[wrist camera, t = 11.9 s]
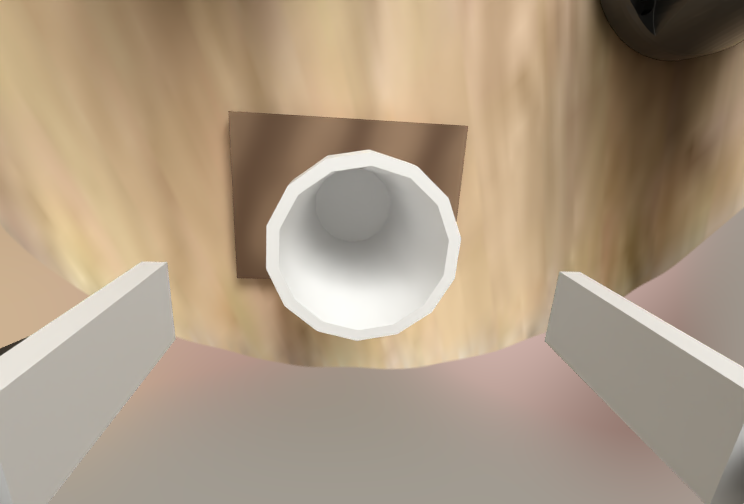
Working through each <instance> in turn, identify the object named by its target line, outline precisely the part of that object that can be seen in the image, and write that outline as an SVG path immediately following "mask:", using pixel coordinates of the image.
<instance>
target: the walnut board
mask: <svg viewBox="0 0 744 504" xmlns="http://www.w3.org/2000/svg"><path fill="white" fill-rule="evenodd" d="M229 128H230V148H231V167H232V186H233V206H234V225H235V245H236V264H237V278H263V279H271V278H270V276H269V274H268V272H267V270H266V226H267V224H268V222H269V220H270V218H271V216H272V214H273V213H274V211H275V209H276V207H277V205H278V203H279V201H280V199H281V198H282V196H283V194H284V192H285V190H286V188H287V186H288V185H289V184H290V183H291V181H292V180H293V179H295V178H296V177H297V176H299V175H300V174H302V173H303V172H305V171H306V170H308V169H309V168H310V167H312V166H313V165H315V164H316V163H318V162H319V161H320V160H322V159H323V158H325V157H326V156H328V155H335V154H342V153H348V152H355V151H362V150H372V151H375V152H378V153H381V154H384V155H387V156H390V157H393V158H396V159H399V160H402V161H405V162H408V163H411V164H413V165H415V166H418V167H419V168H420V169H421V170H422V171H423V172H424V174H425V175H426V176H427V177H428V178H429V179H430V180H431V181H432V182H433V183H434V184H435V185H436V186H437V187H438V188H439V189H440V190H441V191H442V192H443V193H444V194H445V195H446V196H447V197H448V198H449V201H450V204H451V207H452V211H453V214H454V217H455V220H456V221H457V213H458V204H459V196H460V188H461V180H462V172H463V164H464V156H465V148H466V139H467V131H468V126H460V125H444V124H428V123H411V122H395V121H379V120H363V119H347V118H330V117H314V116H298V115H282V114H265V113H249V112H233V111H229Z"/></svg>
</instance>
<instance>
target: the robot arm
mask: <svg viewBox="0 0 744 504" xmlns="http://www.w3.org/2000/svg"><path fill="white" fill-rule="evenodd" d="M600 1H601V5H602V8H603V10H604V13H605V15H606V17H607V19H608V21H609V23H610V25H611V27H612V28H613V30H614V31H615V33H616V34H617V35H618V36H619V37H620V38H621V39H622V41H623V42H624V43H626V44H627V45H628V46H629V47H631V48H632V49H633V50H635V51H637V52H638V53H640V54H642V55H645V56H647V57H650V58H654V59H658V60H667V61H675V60H684V59H689V58H694V57H699V56H704V55H708V54H712V53H716V52H719V51H722V50H724V49H727V48H729V47H732V46H734V45H736V44H738V43H740V42H742V41H744V0H600ZM174 341H175V330H174V321H173V311H172V302H171V293H170V284H169V274H168V265H167V262H140V263H139V264H137V265H136V266H134V267H133V268H131V269H130V270H128V271H127V272H125V273H124V274H122V275H121V276H119V277H118V278H116V279H115V280H113V281H112V282H110V283H109V284H107V285H106V286H104V287H103V288H101V289H100V290H98V291H97V292H95V293H94V294H92V295H91V296H89V297H88V298H86V299H85V300H83V301H82V302H80V303H79V304H78V305H76V306H74V307H73V308H72V309H70V310H68V311H67V312H65V313H64V314H62V315H61V316H59V317H58V318H56V319H55V320H53V321H52V322H50V323H49V324H48V325H46V326H44V327H43V328H41V329H40V330H39V331H37V332H36V333H34V334H32V335H31V336H29V337H27V338H24V339H22V340H20V341H17V342H15V343H12V344H10V345H8V346H5V347H3V348H1V349H0V504H48V503H49V501H50V500H51V499H52V498H53V496H54V495H55V494H56V492H57V491H58V490H59V488H60V487H61V486H62V485H63V483H64V482H65V481H66V480H67V478H68V477H69V476H70V474H71V473H72V472H73V470H74V469H75V468H76V467H77V465H78V464H79V463H80V462H81V460H82V459H83V458H84V456H85V455H86V454H87V453H88V451H89V450H90V449H91V447H92V446H93V445H94V443H95V442H96V441H97V440H98V438H99V437H100V436H101V435H102V433H103V432H104V431H105V429H106V428H107V427H108V426H109V424H110V423H111V422H112V420H113V419H114V418H115V416H116V415H117V414H118V413H119V411H120V410H121V409H122V407H123V406H124V405H125V404H126V402H127V401H128V400H129V399H130V397H131V396H132V395H133V393H134V392H135V391H136V390H137V388H138V387H139V386H140V384H141V383H142V382H143V380H144V379H145V378H146V376H147V375H148V374H149V373H150V371H151V370H152V369H153V368H154V366H155V365H156V364H157V362H158V361H159V360H160V359H161V357H162V356H163V355H164V353H165V352H166V351H167V350H168V348H169V347H170V346H171V344H172V343H173V342H174ZM545 342H546V343H547V344H548V345H549V346H550V347H551V348H552V349H553V350H554V351H555V352H556V353H557V354H558V355H559V356H560V357H561V358H562V359H563V360H564V361H565V362H566V363H567V364H568V365H569V366H570V367H571V368H572V369H573V370H574V371H575V372H576V374H578V376H580V378H581V379H582V380H583V381H584V382H585V383H587V385H588V386H589V387H590V388H591V389H592V390H593V391H594V392H595V393H596V394H597V395H598V396H599V397H600V398H601V399H602V400H603V401H604V402H605V403H606V404H607V405H608V406H609V407H610V408H611V409H612V410H613V411H614V412H615V413H616V414H617V415H618V416H619V417H620V418H621V419H622V420H623V421H624V422H625V423H626V424H627V425H628V426H629V427H630V428H631V429H632V430H633V431H634V432H635V433H636V434H637V435H638V436H639V437H640V438H641V440H642V441H643V442H645V444H646V445H648V447H649V448H650V449H651V450H652V451H653V452H654V453H655V454H656V455H657V456H658V457H659V458H660V459H661V460H662V461H663V462H664V463H665V464H666V465H667V466H668V467H669V468H670V469H671V470H672V471H673V472H674V473H675V474H676V475H677V476H678V477H679V478H680V479H681V480H682V481H683V482H684V483H685V484H686V485H687V486H688V487H689V488H690V489H691V490H692V491H693V492H694V493H695V494H696V495H697V496H698V497H699V498H700V499H701V500H702V501H703V502H704V503H705V504H743V503H744V367H742V366H741V365H739V364H737V363H736V362H734V361H732V360H730V359H729V358H727V357H725V356H724V355H722V354H720V353H718V352H717V351H715V350H713V349H712V348H710V347H708V346H706V345H705V344H703V343H701V342H699V341H698V340H696V339H694V338H693V337H691V336H689V335H687V334H686V333H684V332H682V331H681V330H679V329H677V328H675V327H674V326H672V325H670V324H669V323H667V322H665V321H663V320H662V319H660V318H658V317H657V316H655V315H653V314H651V313H650V312H648V311H646V310H644V309H643V308H641V307H639V306H638V305H636V304H634V303H632V302H631V301H629V300H627V299H626V298H624V297H622V296H620V295H619V294H617V293H615V292H614V291H612V290H610V289H608V288H607V287H605V286H603V285H602V284H600V283H598V282H596V281H595V280H593V279H591V278H590V277H588V276H586V275H584V274H583V273H581V272H560V271H559V276H558V281H557V285H556V290H555V295H554V300H553V304H552V309H551V314H550V318H549V323H548V328H547V332H546V337H545Z"/></svg>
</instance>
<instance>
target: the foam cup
mask: <svg viewBox="0 0 744 504" xmlns="http://www.w3.org/2000/svg"><path fill="white" fill-rule="evenodd" d="M460 242H461V236H460V233H459V230H458V227H457V223H456V220H455V217H454V214H453V211H452V207H451V204H450V201H449V198H448V197H447V196H446V195H445V194H444V193H443V192H442V191H441V190H440V189H439V188H438V187H437V186H436V185H435V184H434V183H433V182H432V181H431V180H430V179H429V178H428V177H427V176H426V175H425V174H424V172H423V171H422V170H421V169H420V168H419V167H418V166H415V165H413V164H411V163H408V162H405V161H402V160H399V159H396V158H393V157H390V156H387V155H384V154H381V153H378V152H375V151H372V150H362V151H355V152H348V153H342V154H335V155H328V156H326V157H325V158H323V159H322V160H320V161H319V162H318V163H316V164H315V165H313V166H312V167H310V168H309V169H308V170H306V171H305V172H303V173H302V174H300V175H299V176H297V177H296V178H295V179H293V180H292V181H291V183H290V184H289V185H288V186H287V188H286V190H285V192H284V194H283V196H282V198H281V199H280V201H279V203H278V205H277V207H276V209H275V211H274V213H273V214H272V216H271V218H270V220H269V222H268V224H267V226H266V270H267V272H268V274H269V276H270V278H271V280H272V282H273V284H274V286H275V288H276V290H277V292H278V294H279V296H280V298H281V300H282V302H283V304H284V306H285V307H286V308H288V309H289V310H290V311H292V312H293V313H294V314H295V315H297V316H298V317H299V318H301V319H302V320H303V321H305V322H306V323H307V324H309V325H310V326H311V327H312V328H314V329H315V330H316V331H318V332H322V333H327V334H331V335H335V336H339V337H343V338H348V339H352V340H356V341H359V340H365V339H371V338H377V337H383V336H389V335H394V334H398V333H400V332H401V331H403V330H404V329H406V328H408V327H409V326H411V325H412V324H414V323H416V322H417V321H419V320H420V319H422V318H423V317H425V316H427V315H428V314H430V313H431V312H432V311H433V310H434V308H435V307H436V305H437V304H438V302H439V301H440V299H441V298H442V296H443V295H444V293H445V292H446V291H447V289H448V288H449V286H450V285H451V283H452V282H453V280H454V279H455V273H456V267H457V260H458V254H459V248H460Z"/></svg>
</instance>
